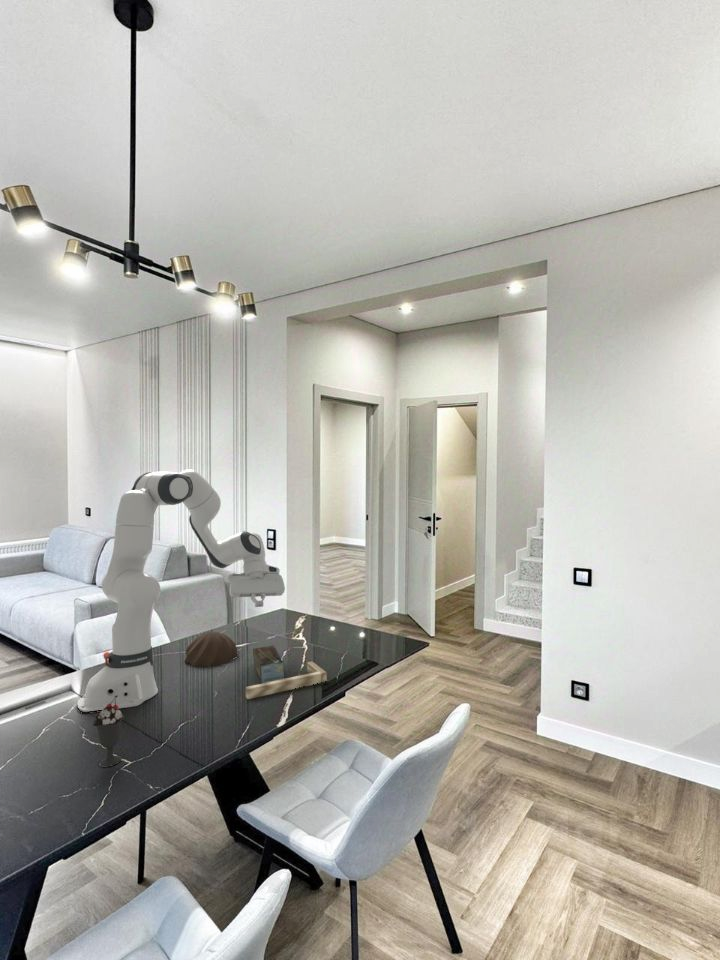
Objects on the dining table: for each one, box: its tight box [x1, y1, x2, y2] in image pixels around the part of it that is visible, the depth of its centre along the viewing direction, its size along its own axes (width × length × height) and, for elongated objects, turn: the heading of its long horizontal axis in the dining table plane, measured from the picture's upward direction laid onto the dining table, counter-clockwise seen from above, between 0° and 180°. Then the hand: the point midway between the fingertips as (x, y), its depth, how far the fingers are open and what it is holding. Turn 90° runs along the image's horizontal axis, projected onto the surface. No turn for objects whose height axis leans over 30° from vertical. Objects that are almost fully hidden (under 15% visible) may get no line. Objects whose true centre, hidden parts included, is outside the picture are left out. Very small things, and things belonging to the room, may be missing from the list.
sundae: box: [92, 695, 126, 766], centre depth 123 cm, size 7×7×15 cm
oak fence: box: [245, 661, 328, 700], centre depth 168 cm, size 26×12×3 cm, turn 118°
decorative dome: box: [184, 631, 239, 667], centre depth 196 cm, size 19×20×10 cm
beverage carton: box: [252, 645, 285, 684], centre depth 179 cm, size 8×19×7 cm, turn 19°
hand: (259, 606), depth 191 cm, fingers closed
